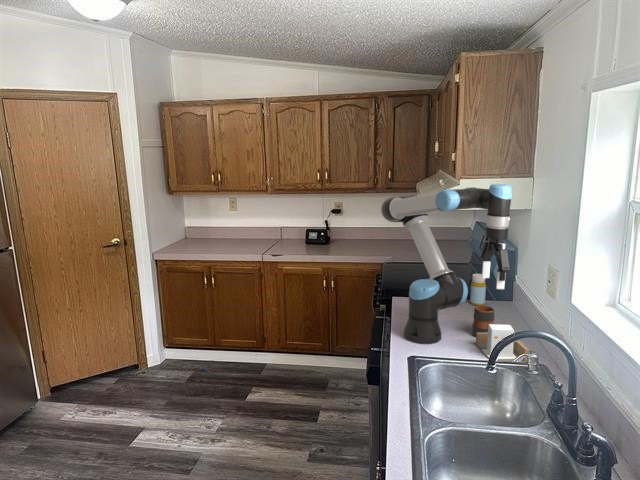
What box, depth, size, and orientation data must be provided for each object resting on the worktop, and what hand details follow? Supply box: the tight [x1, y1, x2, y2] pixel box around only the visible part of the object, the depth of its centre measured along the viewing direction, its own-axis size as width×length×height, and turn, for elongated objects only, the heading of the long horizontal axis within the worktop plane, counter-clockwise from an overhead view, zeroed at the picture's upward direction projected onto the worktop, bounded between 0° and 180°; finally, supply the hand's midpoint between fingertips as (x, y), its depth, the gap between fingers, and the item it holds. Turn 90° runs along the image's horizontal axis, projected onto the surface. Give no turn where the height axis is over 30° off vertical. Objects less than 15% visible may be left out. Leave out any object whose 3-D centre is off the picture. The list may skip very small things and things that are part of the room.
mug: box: [471, 305, 495, 338], centre depth 178 cm, size 9×12×12 cm
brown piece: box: [475, 332, 530, 364], centre depth 160 cm, size 13×16×5 cm
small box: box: [487, 323, 515, 357], centre depth 158 cm, size 8×6×10 cm
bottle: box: [469, 273, 487, 306], centre depth 215 cm, size 7×7×15 cm
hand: (492, 283), depth 159 cm, fingers open, 13 cm apart
